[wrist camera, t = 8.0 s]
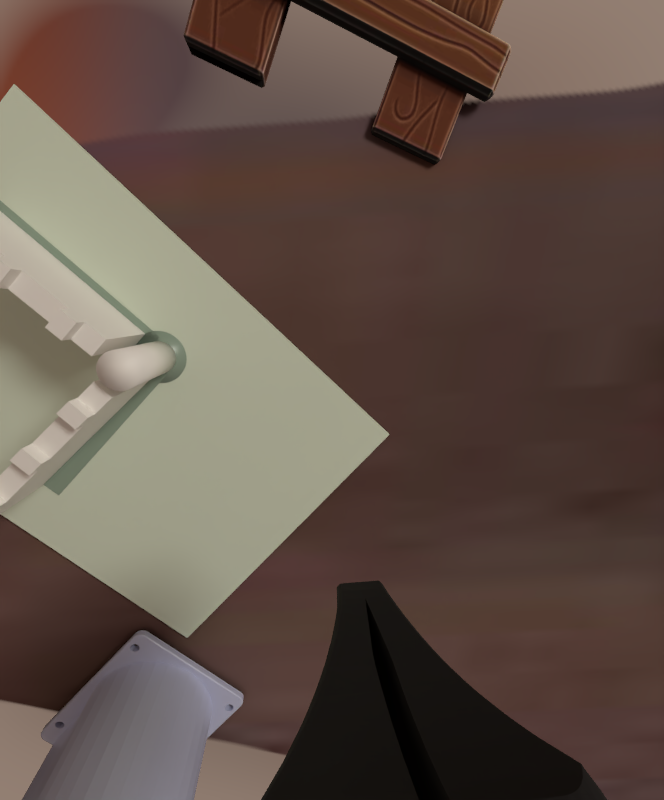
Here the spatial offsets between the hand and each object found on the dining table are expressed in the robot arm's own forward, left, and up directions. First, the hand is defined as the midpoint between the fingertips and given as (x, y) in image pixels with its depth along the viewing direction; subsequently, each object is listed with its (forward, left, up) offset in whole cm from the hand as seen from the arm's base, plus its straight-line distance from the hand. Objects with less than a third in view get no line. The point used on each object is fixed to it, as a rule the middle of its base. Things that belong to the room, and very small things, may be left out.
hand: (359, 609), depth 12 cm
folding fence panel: (-6, +11, -10) cm, 16 cm away
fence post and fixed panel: (-1, +15, -10) cm, 18 cm away
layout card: (-5, +11, -10) cm, 15 cm away
